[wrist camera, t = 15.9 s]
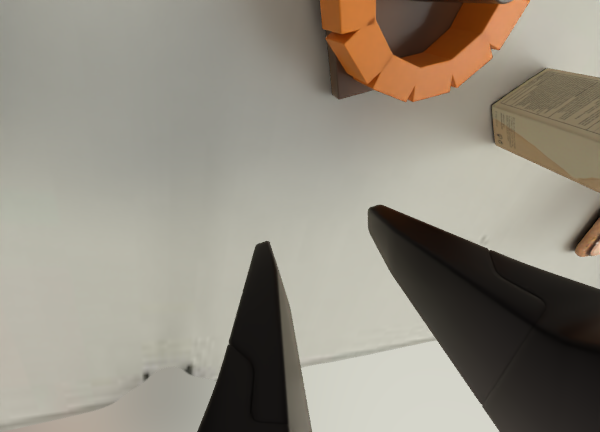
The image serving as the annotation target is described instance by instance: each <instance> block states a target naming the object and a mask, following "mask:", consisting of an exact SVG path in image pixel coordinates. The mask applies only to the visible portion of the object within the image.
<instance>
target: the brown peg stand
mask: <svg viewBox="0 0 600 432" xmlns="http://www.w3.org/2000/svg"><path fill="white" fill-rule="evenodd" d="M511 1H513V0H376V21H377V23H378V25H379V27H380V29H381V31H382V33H383V35H384V37H385V39H386V41H387V44H388V46H389V48H390V50H391V52H392V54H393V55H395V56H397V57H400V58H402V57H406V56H410V55H414V54H418V53H422V52H424V51H425V50H426V49H427V48H428V47H430V46H431V45H432V44H433V43H434V42H435V41H436V40H437V39H439V38H440V37H441V36H442V35H443V34H444V33H445V32H446V31H447V30H449V29H450V27H451V25H452V23H453V21H454V19H455V17H456V15H457V13H458V12H459V10H460V8H461V6H462V4H463V3H487V4H506V3H509V2H511ZM331 32H332V31H328V30H326V35H327V36H328V35H329V34H330V33H331ZM327 45H328V56H329V66H330V77H331V88H332V95H334V96H335V97H336V98H338V99H342V98H346V97H350V96H353V95H357V94H361V93H364V92H368V91H371V90H374V89H372V88H370V87H368V86H366V85H364V84H362V83H360V82H358V81H356V80H354V79H353V76H351V75H349V74H347V73H346V71H345V69H344V68H343V66H342V65H341V63H340V61H339V60H338V58H337V57H336V55H335V53H334V52H333V50H332V49H331V47H330V45H329V44H328V42H327Z"/></svg>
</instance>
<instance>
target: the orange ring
mask: <svg viewBox="0 0 600 432" xmlns="http://www.w3.org/2000/svg"><path fill="white" fill-rule="evenodd" d="M529 2H530V0H513V1H511V2H509V3H506V4H487V3H463V4H462V6H461V8H460V10H459V12H458V13H457V15H456V17H455V19H454V21H453V23H452V25H451V27H450V29H449V30H447V31H446V32H445V33H444V34H443V35H442V36H441V37H440V38H439V39H437V40H436V41H435V42H434V43H433V44H432V45H431V46H430V47H428V48H427V49H426V50H425V51H424V52H422V53H418V54H414V55H410V56H406V57H402V58H400V57H397V56H395V55H393V54H392V52H391V50H390V48H389V46H388V44H387V41H386V39H385V37H384V35H383V33H382V31H381V29H380V27H379V25H378V23H377V21H376V0H320V6H321V17H322V28H323V29H324V30H328V31H332V32H331V33H330V34H329V35H328V36H327V37H326V38H325V39H326V41H327V42H328V44H329V45H330V47H331V49H332V50H333V52H334V53H335V55H336V57H337V58H338V60H339V61H340V63H341V65H342V66H343V68H344V69H345V71H346V73H347V74H349V75H351V76H353V79H354V80H356V81H358V82H360V83H362V84H364V85H366V86H368V87H370V88H372V89H374V90H376V91H379V92H381V93H384V94H386V95H389V96H391V97H394V98H397V99H399V100H402V101H404V102H406V101H407V99H408V100H410V101H412V102H415V101H418V100H422V99H426V98H430V97H433V96H437V95H441V94H444V93H448V92H450V87H451V86H452V87H455V88H458V87H459V86H460V85H461V84H462V83H464V82H465V81H466V80H467V79H468V78H469V77H471V76H472V75H473V74H474V73H475V72H477V71H478V70H479V69H480V68H481V67H483V66H484V65H485V64H486V63H487V62H488V61H490V60H491V59H492V58H493V56H492V52H491V49H495V50H500V48H501V47H502V45H503V44H504V42H505V40H506V39H507V37H508V36H509V34H510V32H511V31H512V29H513V28H514V26H515V24H516V23H517V21H518V20H519V18H520V16H521V15H522V13H523V12H524V10H525V8H526V7H527V5H528V3H529Z"/></svg>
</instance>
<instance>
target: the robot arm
mask: <svg viewBox="0 0 600 432" xmlns="http://www.w3.org/2000/svg"><path fill="white" fill-rule="evenodd" d="M368 229H369V232H370V235H371V236H372V238H373V240H374V242H375V244H376V246H377V248H378V250H379V252H380V254H381V255H382V257H383V259H384V261H385V263H386V265H387V267H388V269H389V270H390V272H391V274H392V275H393V277H394V278H395V280H396V281H397V283H398V284H399V286H400V287H401V288H402V290H403V291H404V293H405V294H406V296H407V297H408V299H409V300H410V302H411V303H412V305H413V306H414V307H415V309H416V310H417V312H418V313H419V315H420V316H421V318H422V319H423V321H424V322H425V323H426V325H427V326H428V328H429V329H430V331H431V332H432V334H433V335H434V337H435V338H436V339H437V341H438V342H439V344H440V345H441V347H442V348H443V350H444V351H445V353H446V354H447V355H448V357H449V358H450V360H451V361H452V363H453V364H454V366H455V367H456V368H457V370H458V371H459V373H460V374H461V376H462V377H463V379H464V380H465V382H466V383H467V384H468V386H469V387H470V389H471V390H472V392H473V393H474V395H475V396H476V398H477V399H478V401H479V402H480V403H481V404H482V405H483V408H484V410H485V411H486V412H487V414H488V415H489V417H490V418H491V420H492V421H493V423H494V424H495V426H496V427H497V428H498V430H499V431H500V432H600V289H597V288H594V287H591V286H588V285H585V284H582V283H579V282H576V281H573V280H571V279H568V278H565V277H562V276H559V275H556V274H553V273H550V272H547V271H544V270H541V269H539V268H536V267H533V266H530V265H527V264H525V263H522V262H520V261H517V260H515V259H512V258H509V257H507V256H504V255H502V254H500V253H497V252H495V251H492V250H490V251H489V250H488V249H487V248H485V247H482V246H480V245H478V244H475V243H473V242H470V241H468V240H466V239H463V238H461V237H458V236H456V235H454V234H451V233H449V232H446V231H444V230H441V229H439V228H437V227H434V226H432V225H429V224H427V223H425V222H422V221H420V220H417V219H415V218H413V217H410V216H408V215H405V214H403V213H400V212H398V211H396V210H393V209H391V208H388V207H386V206H384V205H376V206H373V207H370V208H369V209H368ZM197 432H312V429H311V423H310V417H309V411H308V406H307V400H306V395H305V389H304V383H303V377H302V372H301V366H300V360H299V355H298V349H297V343H296V338H295V332H294V326H293V321H292V315H291V310H290V306H289V302H288V299H287V295H286V292H285V289H284V286H283V283H282V279H281V276H280V273H279V270H278V267H277V263H276V260H275V257H274V254H273V251H272V248H271V245H270V242H269V241H265V242H262V243H259V244H257V245H256V247H255V250H254V253H253V257H252V261H251V264H250V268H249V271H248V275H247V278H246V282H245V286H244V289H243V293H242V296H241V300H240V304H239V307H238V311H237V314H236V318H235V321H234V325H233V329H232V332H231V336H230V339H229V345H228V346H227V350H226V353H225V357H224V360H223V363H222V367H221V370H220V373H219V376H218V379H217V382H216V385H215V388H214V390H213V394H212V396H211V399H210V401H209V404H208V406H207V409H206V411H205V414H204V416H203V419H202V421H201V424H200V426H199V429H198V431H197Z"/></svg>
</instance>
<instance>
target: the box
mask: <svg viewBox="0 0 600 432" xmlns="http://www.w3.org/2000/svg"><path fill="white" fill-rule="evenodd" d="M492 116H493V129H494V137H495V144H496V145H497V146H499V147H501V148H503V149H505V150H508V151H510V152H512V153H514V154H516V155H518V156H521V157H523V158H525V159H527V160H529V161H532V162H534V163H536V164H538V165H540V166H542V167H545V168H547V169H549V170H551V171H553V172H556V173H558V174H560V175H562V176H564V177H566V178H569V179H571V180H573V181H575V182H577V183H580V184H582V185H584V186H586V187H588V188H590V189H593V190H595V191H597V192H599V193H600V78H598V77H593V76H587V75H582V74H577V73H571V72H566V71H560V70H555V69H550V68H547V69H545V70H543V71H542V72H540V73H539V74H537V75H536V76H534V77H532V78H531V79H529V80H528V81H526V82H525V83H524V84H522V85H521V86H519V87H518V88H516V89H515V90H513V91H512V92H510V93H509V94H507V95H506V96H505V97H503V98H502V99H501V100H499V101H498V102H496V103H495V104H494V105H493V106H492Z"/></svg>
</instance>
